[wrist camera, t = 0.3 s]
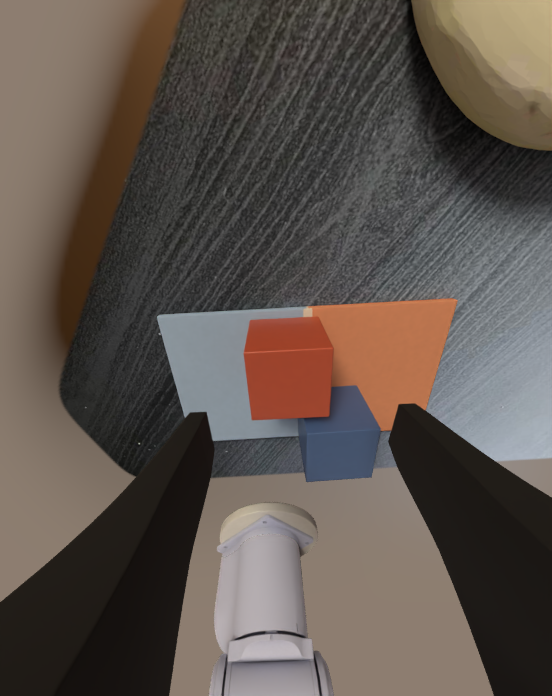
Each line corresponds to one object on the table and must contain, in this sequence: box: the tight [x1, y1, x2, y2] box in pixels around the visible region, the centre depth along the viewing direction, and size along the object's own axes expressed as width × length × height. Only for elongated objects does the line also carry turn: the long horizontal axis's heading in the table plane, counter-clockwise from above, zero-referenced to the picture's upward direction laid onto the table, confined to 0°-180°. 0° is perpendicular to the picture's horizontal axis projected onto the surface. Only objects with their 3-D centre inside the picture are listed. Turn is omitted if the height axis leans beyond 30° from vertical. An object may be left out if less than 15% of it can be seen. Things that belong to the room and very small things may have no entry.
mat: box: [157, 298, 457, 441], centre depth 19 cm, size 19×11×1 cm, turn 93°
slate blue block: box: [298, 385, 381, 482], centre depth 18 cm, size 4×4×4 cm
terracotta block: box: [243, 316, 334, 420], centre depth 15 cm, size 4×4×4 cm
